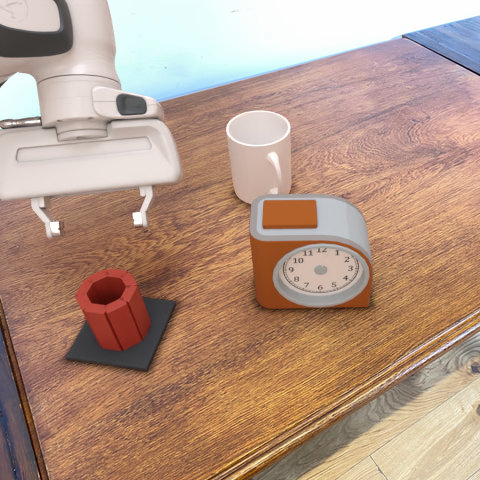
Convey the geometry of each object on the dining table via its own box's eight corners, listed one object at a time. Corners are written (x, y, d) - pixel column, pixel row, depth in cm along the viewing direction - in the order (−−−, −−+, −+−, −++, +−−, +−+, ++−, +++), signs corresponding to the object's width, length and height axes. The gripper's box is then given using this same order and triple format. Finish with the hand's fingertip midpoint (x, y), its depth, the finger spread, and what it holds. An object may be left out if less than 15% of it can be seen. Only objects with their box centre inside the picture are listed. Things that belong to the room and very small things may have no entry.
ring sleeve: (86, 346, 62) (66, 308, 56) (109, 304, 66) (92, 265, 61) (137, 353, 61) (121, 316, 56) (157, 310, 66) (144, 272, 60)
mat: (66, 359, 61) (65, 357, 61) (103, 294, 68) (102, 291, 68) (147, 371, 60) (146, 368, 60) (176, 304, 67) (175, 301, 67)
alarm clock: (255, 311, 66) (246, 238, 57) (258, 262, 72) (251, 189, 63) (368, 309, 67) (379, 236, 57) (362, 260, 73) (371, 187, 63)
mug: (267, 163, 88) (263, 103, 80) (314, 197, 82) (315, 136, 74) (222, 187, 84) (213, 125, 75) (268, 225, 78) (264, 163, 69)
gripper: (-29, 114, 54) (-11, 244, 54) (170, 98, 57) (186, 221, 57) (-2, 127, 60) (15, 243, 60) (176, 111, 63) (191, 222, 64)
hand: (100, 232), depth 59 cm, fingers open, 8 cm apart
